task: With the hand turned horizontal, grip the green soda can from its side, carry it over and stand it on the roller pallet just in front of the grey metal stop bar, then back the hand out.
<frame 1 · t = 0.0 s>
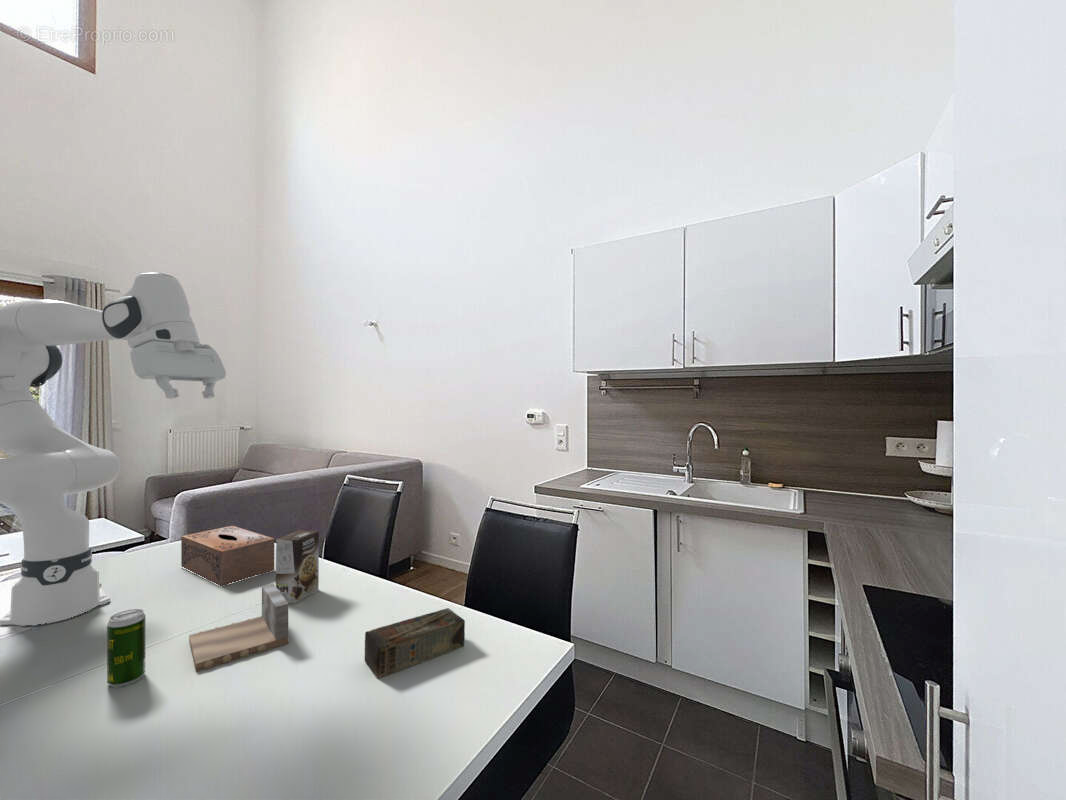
hand: (192, 397, 107), 52 cm above the table, tool tilted 20°, fingers open, 8 cm apart
roller pallet: (238, 642, 100), on the table
green soda can: (126, 680, 87), on the table
tissue box cover: (227, 571, 142), on the table
beverage carton: (416, 656, 96), on the table
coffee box: (297, 596, 124), on the table
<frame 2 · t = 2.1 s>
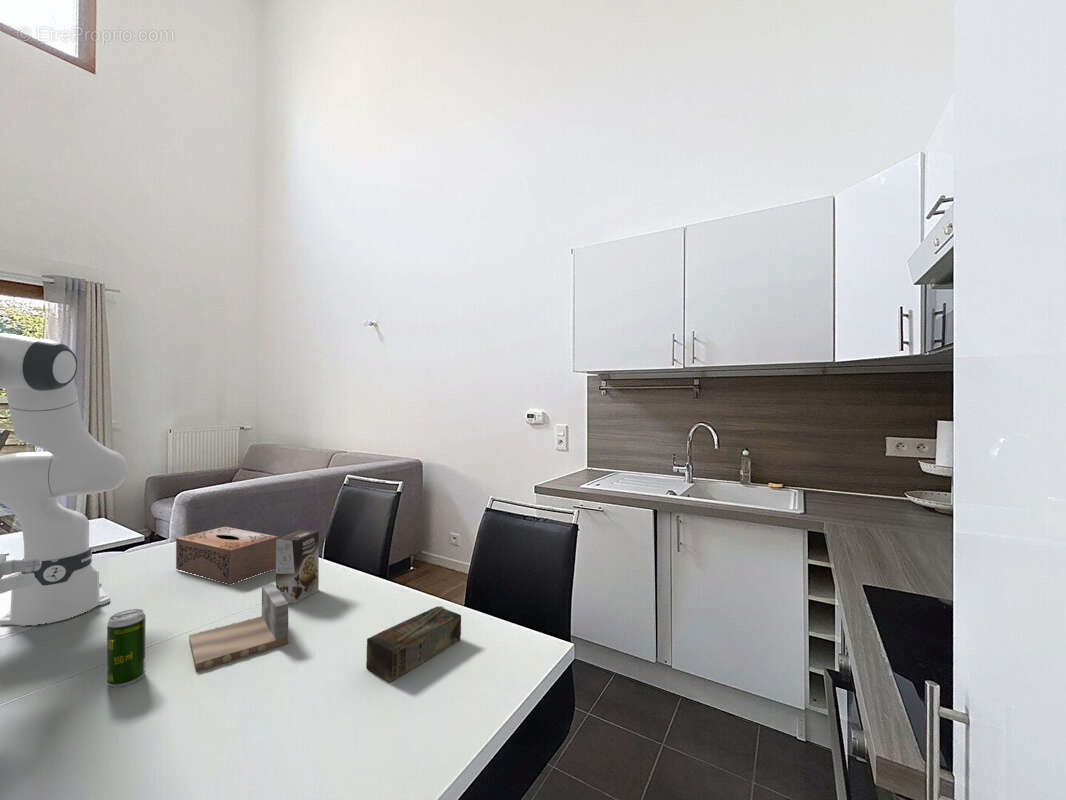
hand: (37, 571, 79), 23 cm above the table, tool horizontal, fingers open, 8 cm apart
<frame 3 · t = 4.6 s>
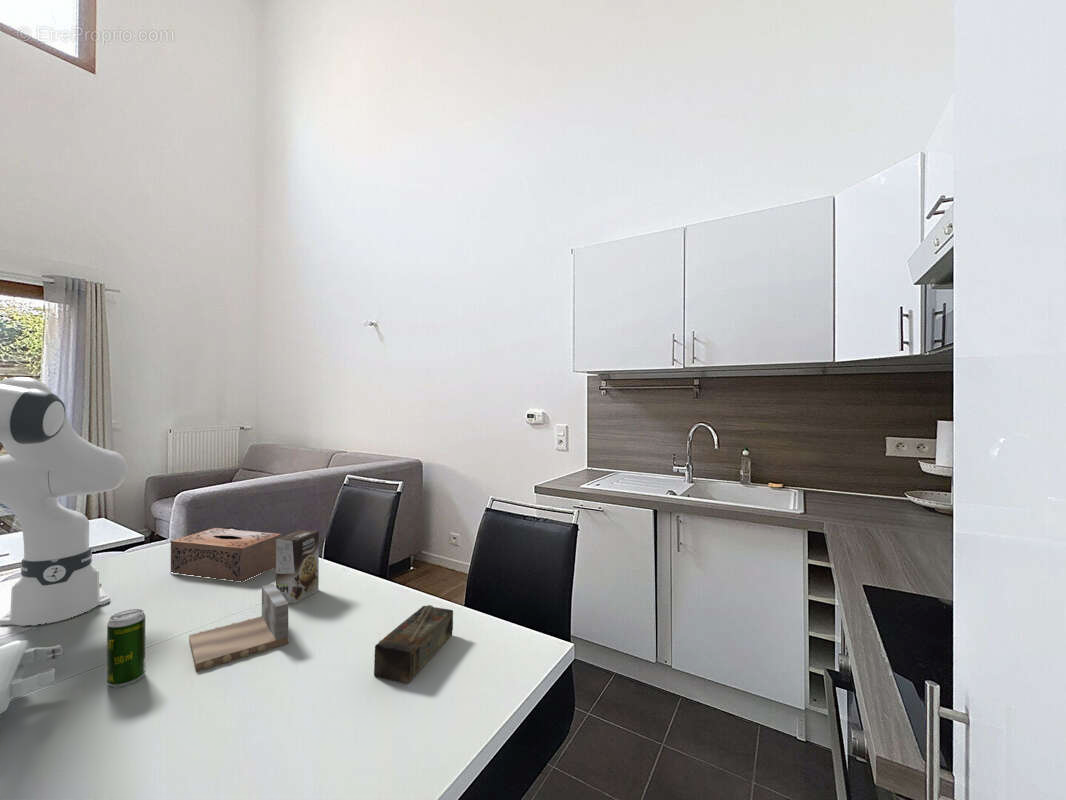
hand: (58, 662, 81), 6 cm above the table, tool horizontal, fingers open, 8 cm apart
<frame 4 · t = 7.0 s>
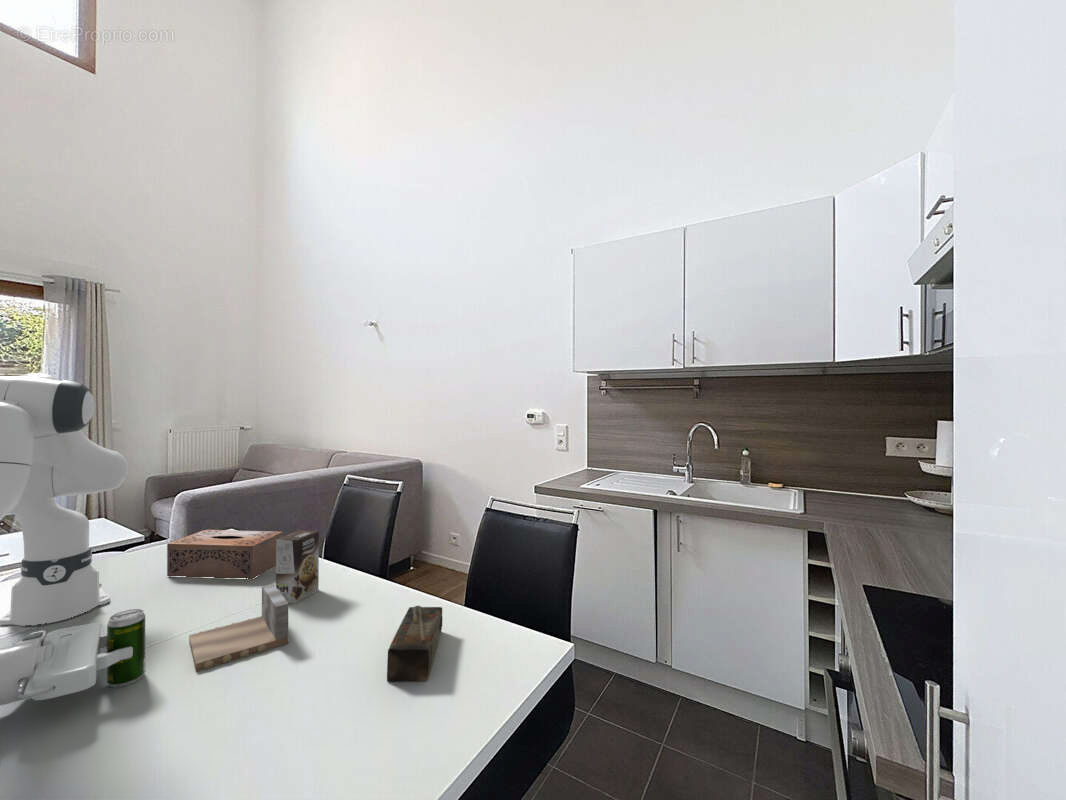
hand: (132, 642, 87), 7 cm above the table, tool horizontal, fingers closed on green soda can, 5 cm apart
green soda can: (126, 680, 87), on the table, touching gripper
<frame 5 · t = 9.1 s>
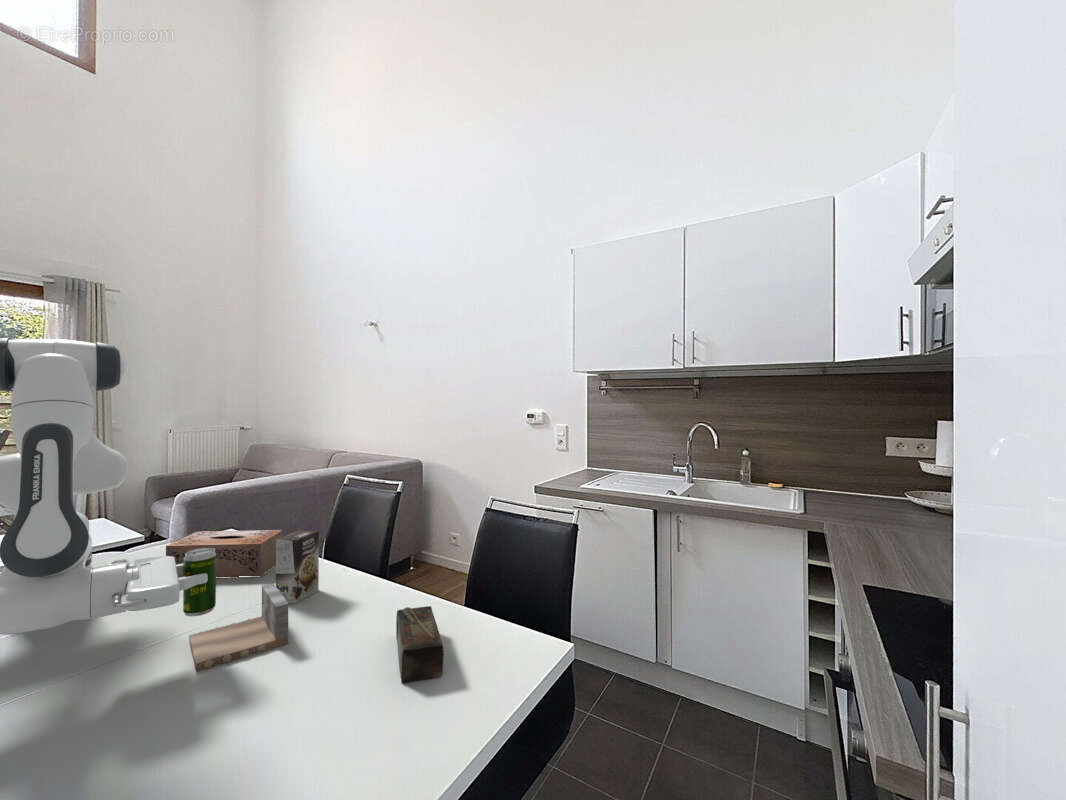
hand: (205, 571, 95), 17 cm above the table, tool horizontal, fingers closed on green soda can, 5 cm apart
green soda can: (199, 612, 95), point 9 cm above the table, touching gripper
when the fingers open (10 cm above the table, at t = 11.3 s): green soda can stays where it is, resting on roller pallet.
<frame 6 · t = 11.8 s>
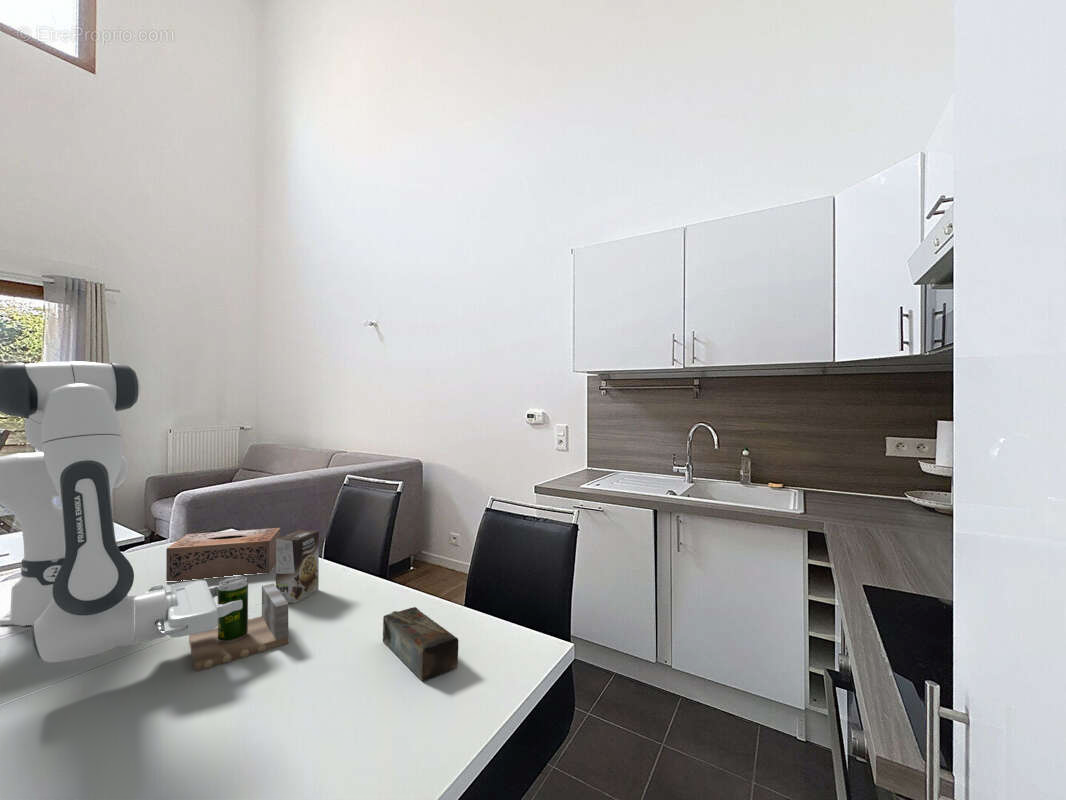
hand: (238, 595, 100), 10 cm above the table, tool horizontal, fingers open, 8 cm apart
green soda can: (233, 638, 99), point 1 cm above the table, touching roller pallet
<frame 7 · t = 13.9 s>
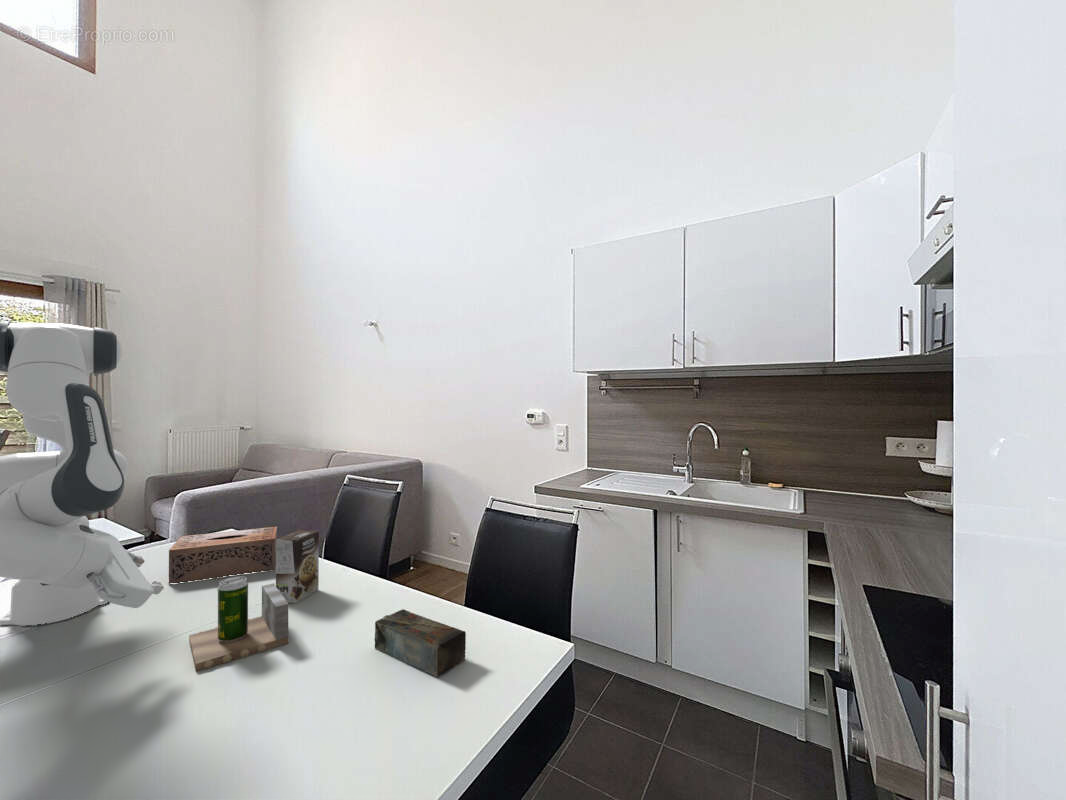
hand: (150, 575, 96), 16 cm above the table, tool tilted 60°, fingers open, 8 cm apart
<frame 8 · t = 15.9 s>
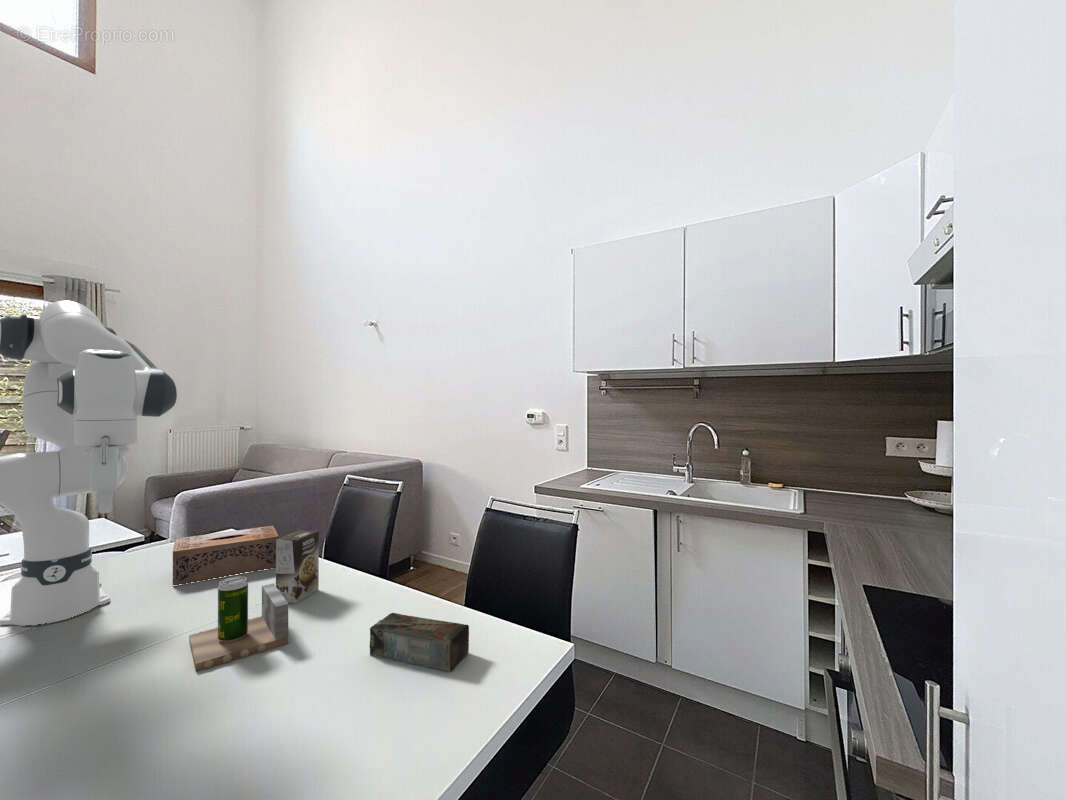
hand: (106, 507, 89), 31 cm above the table, tool pointing down, fingers open, 8 cm apart
at the end: green soda can inside the target area on the roller pallet (0.8 cm from its centre), point 1.3 cm above the roller pallet's base; green soda can tilted 0°; the gripper is holding nothing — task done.
